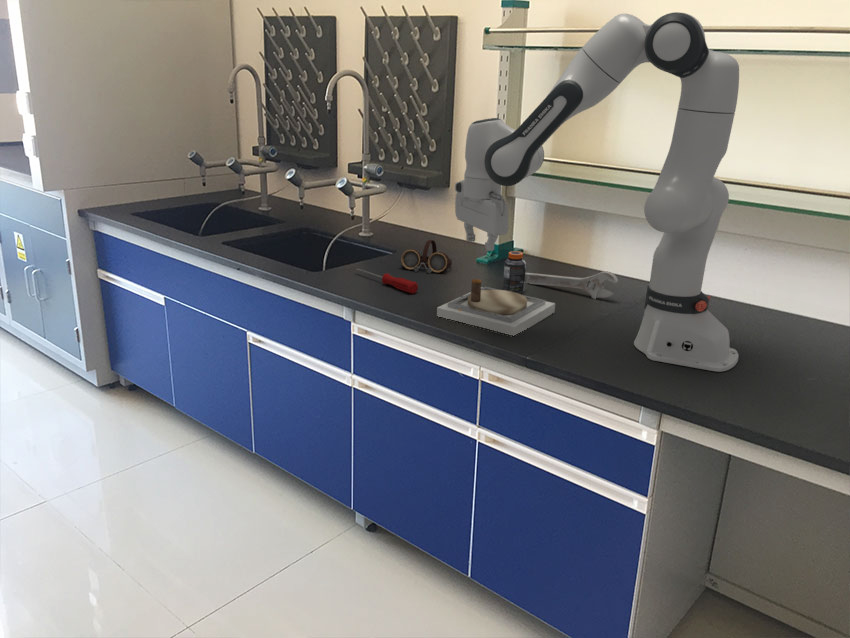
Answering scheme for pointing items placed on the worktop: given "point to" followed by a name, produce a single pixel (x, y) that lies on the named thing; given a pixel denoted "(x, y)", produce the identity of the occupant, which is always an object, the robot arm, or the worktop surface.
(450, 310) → the control plate
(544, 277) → the wrench
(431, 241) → the goggles
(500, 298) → the dial
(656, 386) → the worktop surface
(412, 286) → the screwdriver
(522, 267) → the pill bottle
